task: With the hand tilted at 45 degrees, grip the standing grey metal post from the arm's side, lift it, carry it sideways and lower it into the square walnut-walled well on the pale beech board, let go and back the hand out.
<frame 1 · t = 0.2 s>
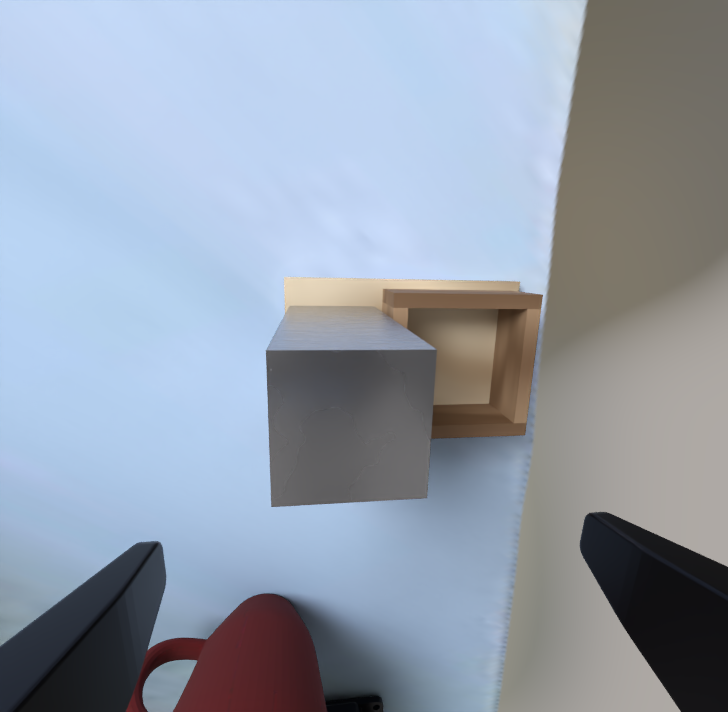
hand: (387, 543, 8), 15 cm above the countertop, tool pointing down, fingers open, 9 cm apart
post: (332, 347, 21), point 1 cm above the countertop, touching stand
mug: (246, 613, 25), on the countertop
stand: (400, 353, 23), on the countertop
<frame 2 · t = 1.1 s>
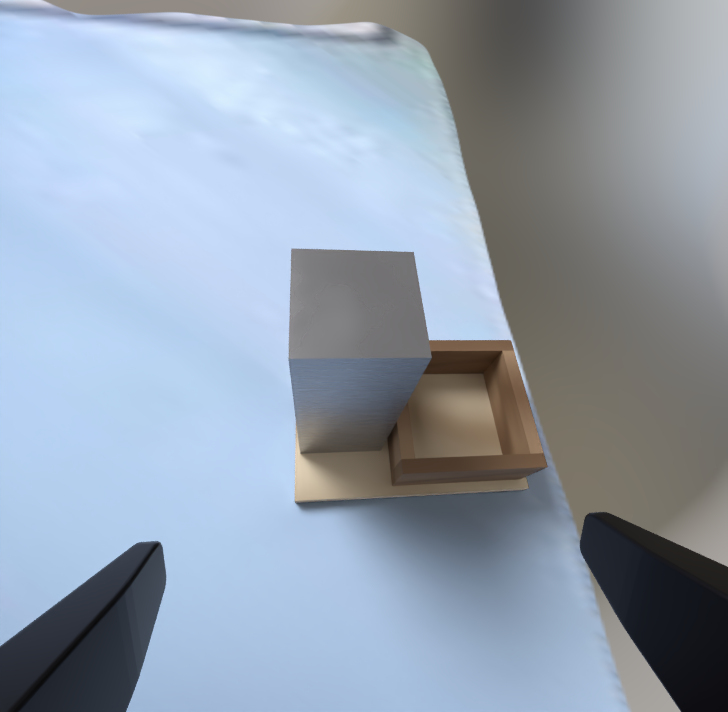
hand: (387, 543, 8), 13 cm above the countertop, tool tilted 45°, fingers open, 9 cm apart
post: (339, 413, 23), point 1 cm above the countertop, touching stand
stand: (405, 423, 24), on the countertop
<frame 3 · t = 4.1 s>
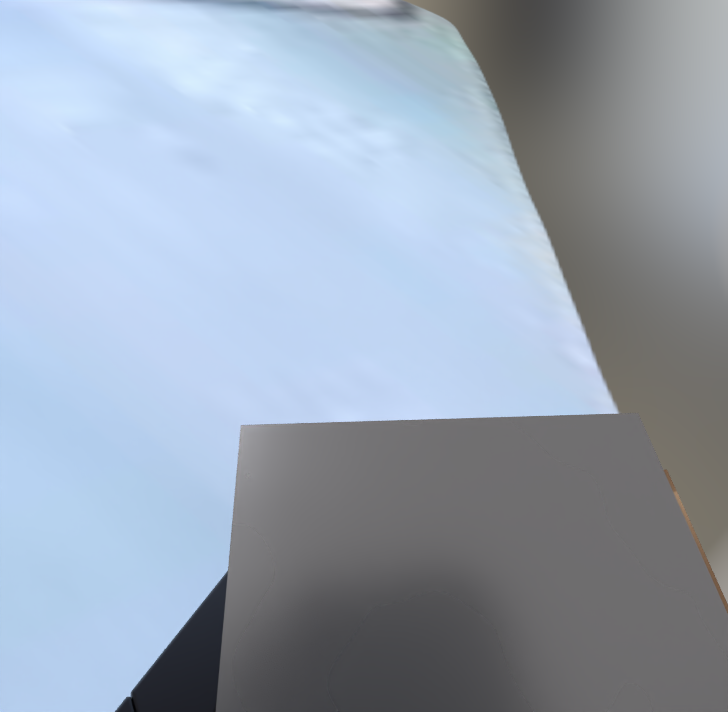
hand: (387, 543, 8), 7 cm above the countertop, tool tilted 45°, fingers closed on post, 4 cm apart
post: (362, 606, 13), point 1 cm above the countertop, touching gripper, stand
stand: (476, 612, 13), on the countertop
when the fingers open (8 cm above the countertop, at t = 7.1 s): post drops 2 cm, resting on stand.
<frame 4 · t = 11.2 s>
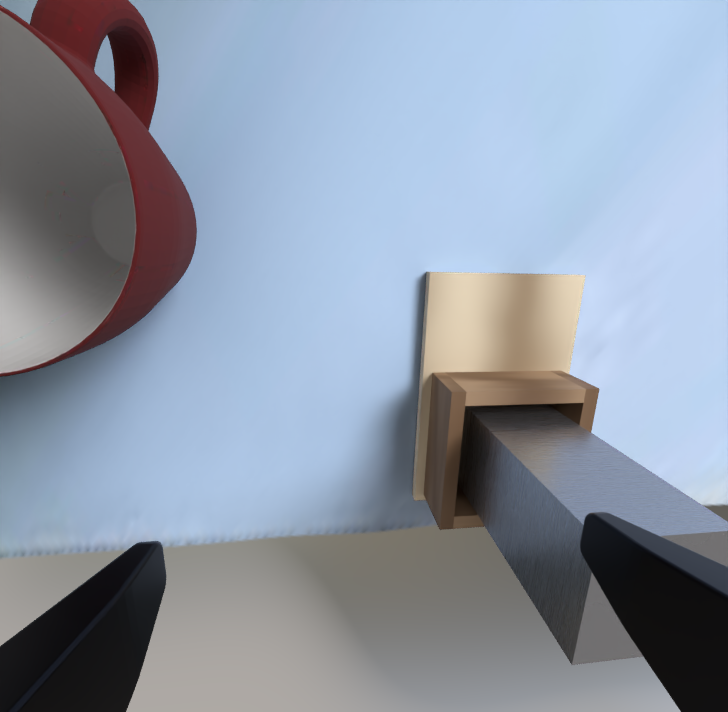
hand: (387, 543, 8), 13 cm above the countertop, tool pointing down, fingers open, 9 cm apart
post: (491, 433, 22), point 1 cm above the countertop, touching stand
mug: (143, 198, 18), on the countertop
stand: (490, 390, 22), on the countertop
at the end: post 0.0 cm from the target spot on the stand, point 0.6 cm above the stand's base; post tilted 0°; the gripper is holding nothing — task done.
